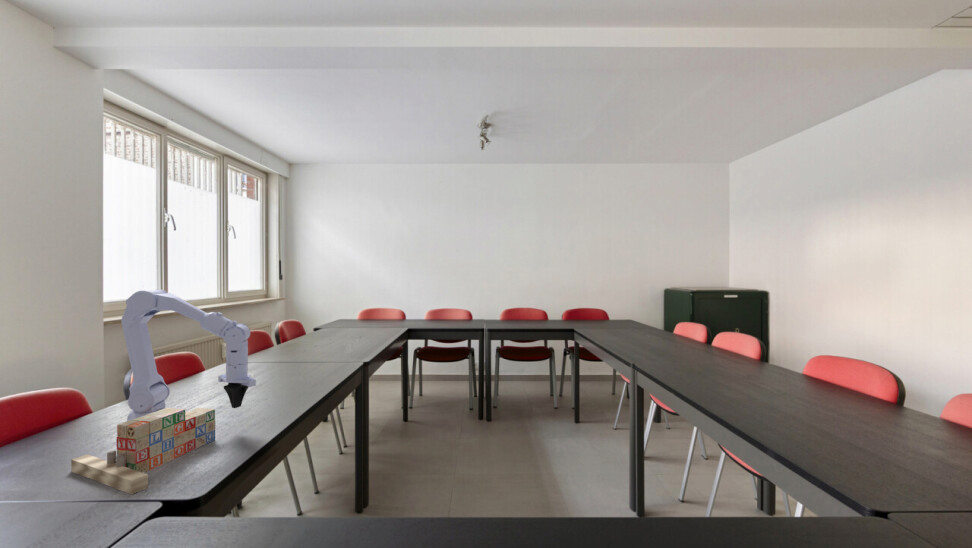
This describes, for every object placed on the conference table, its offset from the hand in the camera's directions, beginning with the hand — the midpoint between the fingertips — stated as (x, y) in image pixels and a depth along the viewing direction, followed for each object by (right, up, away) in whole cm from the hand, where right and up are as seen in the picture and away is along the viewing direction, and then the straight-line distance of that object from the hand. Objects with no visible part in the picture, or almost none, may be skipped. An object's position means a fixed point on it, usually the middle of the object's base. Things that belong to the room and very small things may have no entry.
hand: (236, 407), depth 121 cm
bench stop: (-12, -7, -29) cm, 32 cm away
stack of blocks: (-7, -8, -16) cm, 20 cm away
